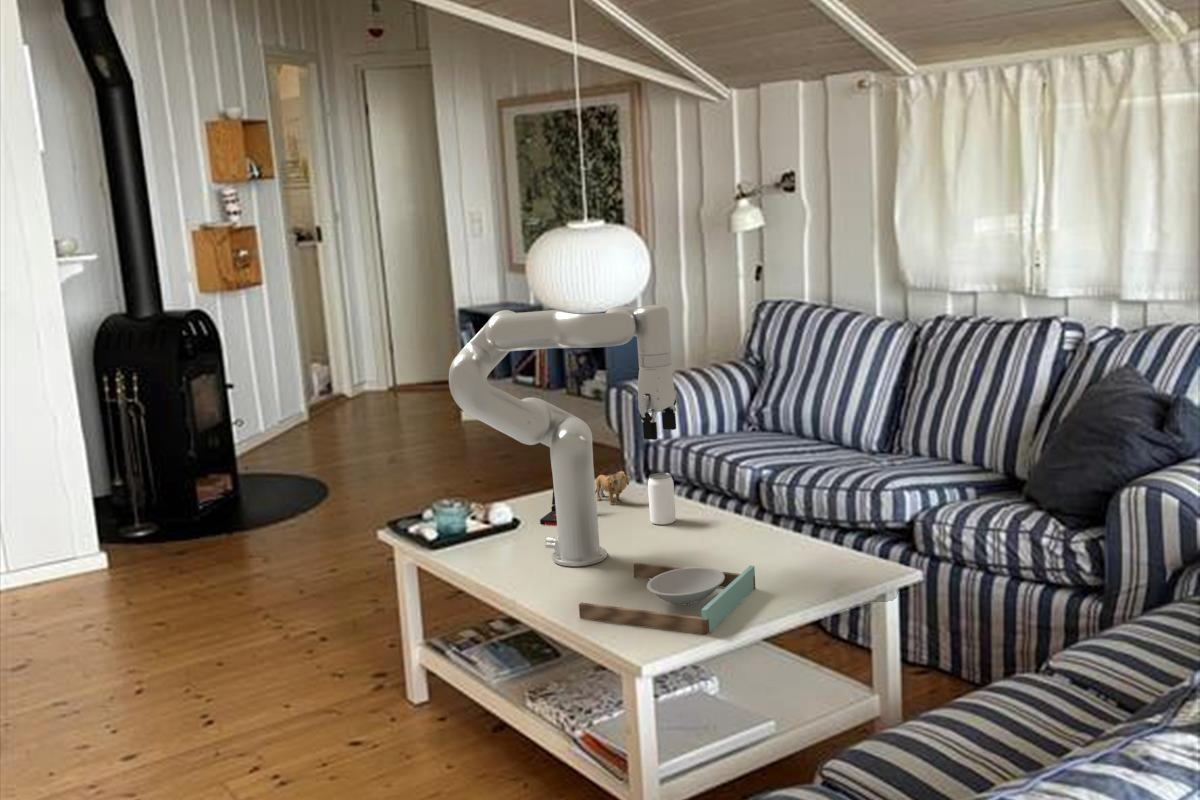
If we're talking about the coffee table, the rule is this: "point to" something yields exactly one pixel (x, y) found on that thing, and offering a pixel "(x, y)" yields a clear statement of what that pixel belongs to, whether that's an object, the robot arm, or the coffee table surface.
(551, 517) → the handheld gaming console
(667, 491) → the can
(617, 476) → the lion figurine
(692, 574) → the dish
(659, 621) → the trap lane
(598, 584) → the coffee table surface
